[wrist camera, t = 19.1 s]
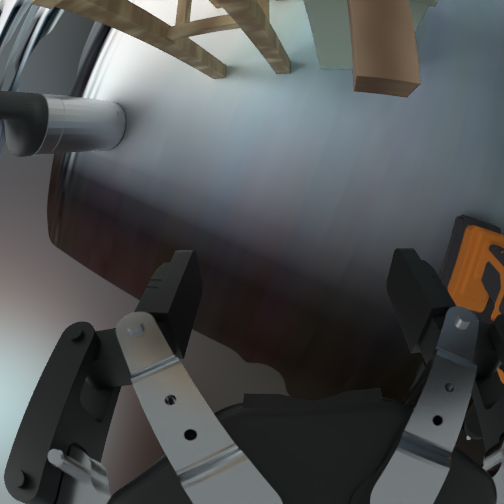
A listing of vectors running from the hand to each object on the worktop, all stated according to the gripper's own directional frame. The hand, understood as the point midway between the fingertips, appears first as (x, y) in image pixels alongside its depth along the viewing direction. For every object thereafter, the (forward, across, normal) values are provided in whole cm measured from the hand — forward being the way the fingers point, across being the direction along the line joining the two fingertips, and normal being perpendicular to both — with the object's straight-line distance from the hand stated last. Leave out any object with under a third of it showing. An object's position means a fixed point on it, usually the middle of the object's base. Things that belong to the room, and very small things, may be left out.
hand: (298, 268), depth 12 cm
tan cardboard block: (+13, +7, +20) cm, 25 cm away
